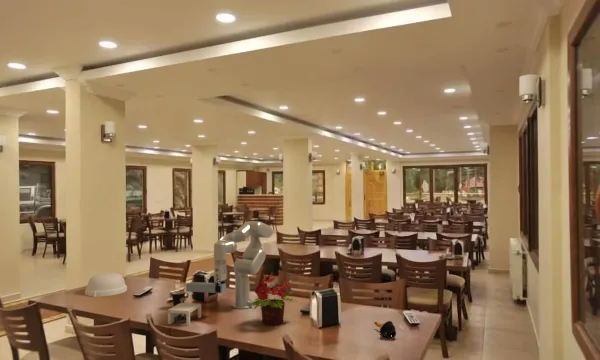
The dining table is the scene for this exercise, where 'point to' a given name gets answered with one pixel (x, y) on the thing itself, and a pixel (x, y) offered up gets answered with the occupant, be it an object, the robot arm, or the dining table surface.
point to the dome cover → (106, 285)
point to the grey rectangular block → (204, 287)
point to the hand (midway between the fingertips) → (220, 290)
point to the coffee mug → (178, 297)
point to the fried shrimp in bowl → (386, 329)
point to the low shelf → (178, 310)
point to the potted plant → (271, 302)
